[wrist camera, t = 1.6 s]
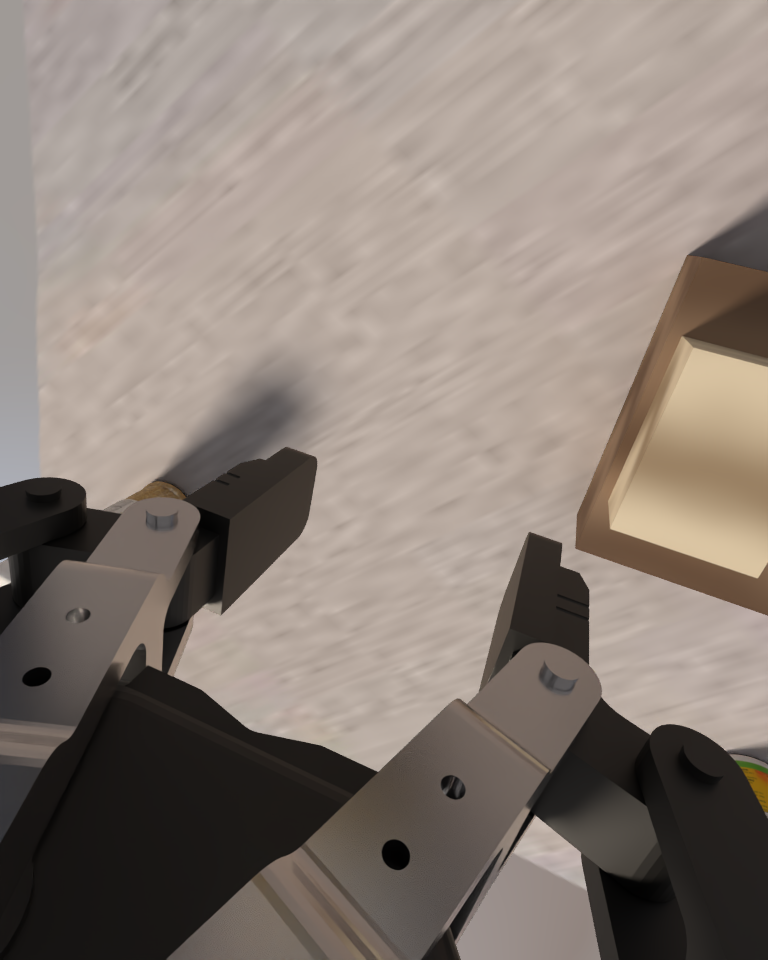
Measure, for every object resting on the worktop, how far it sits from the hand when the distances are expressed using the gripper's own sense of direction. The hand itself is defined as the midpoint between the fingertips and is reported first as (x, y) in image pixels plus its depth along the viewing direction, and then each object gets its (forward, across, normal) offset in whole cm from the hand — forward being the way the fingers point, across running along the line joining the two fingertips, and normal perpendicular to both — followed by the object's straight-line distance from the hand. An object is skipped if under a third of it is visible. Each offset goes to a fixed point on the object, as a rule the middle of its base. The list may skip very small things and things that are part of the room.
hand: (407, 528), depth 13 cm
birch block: (+14, -10, 0) cm, 17 cm away
